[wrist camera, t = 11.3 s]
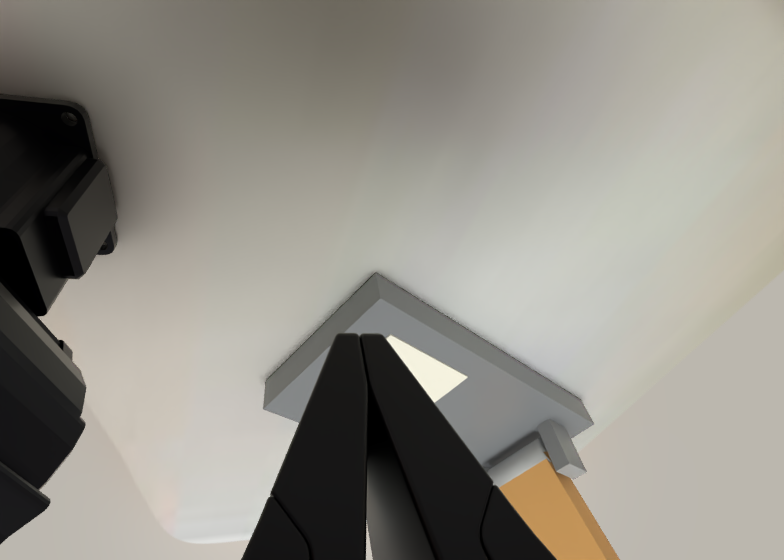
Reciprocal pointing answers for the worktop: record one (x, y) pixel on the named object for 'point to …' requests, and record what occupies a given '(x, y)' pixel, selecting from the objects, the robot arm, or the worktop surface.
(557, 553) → the orange lever
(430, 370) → the switch panel
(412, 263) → the worktop surface
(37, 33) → the worktop surface
